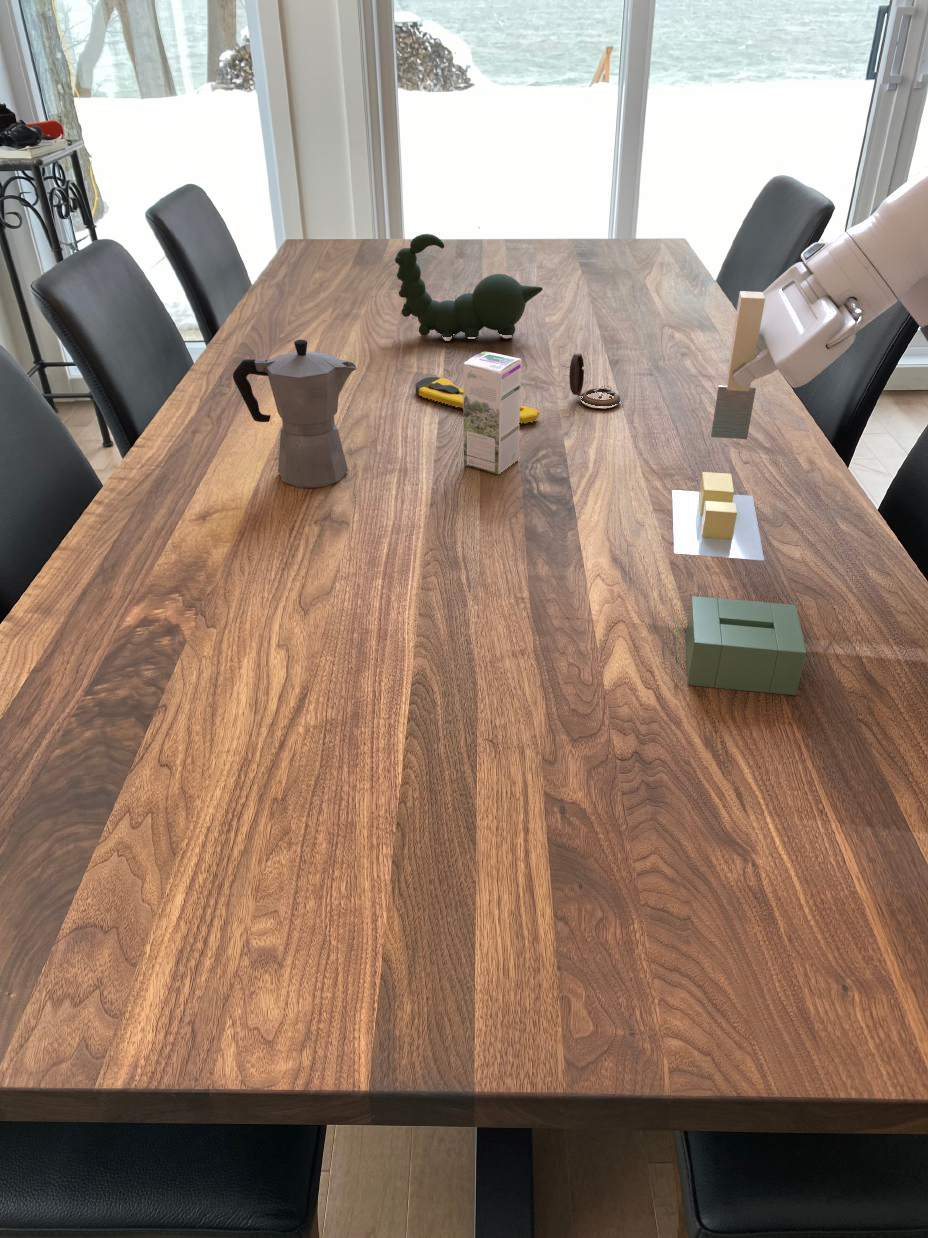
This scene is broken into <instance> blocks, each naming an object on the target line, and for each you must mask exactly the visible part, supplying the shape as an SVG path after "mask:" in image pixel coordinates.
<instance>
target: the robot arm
mask: <svg viewBox="0 0 928 1238" xmlns="http://www.w3.org/2000/svg"><path fill="white" fill-rule="evenodd" d="M800 258H801V260H802V261H798V262H795V263H794V264H793V265H791V266H790V267H789V268H788V269H787V270H786V271H784V272H783V273H782V274H781V275H780V276H778V278H776V279H775V280H774V281H773V282H772V283H771V284H770V285H769V286H768V287H766V289H765V290H763V291H762V292H763V294H764V297H765V303H764V309H763V315H762V321H761V326H760V332H759V338H758V344H757V350H756V355H755V359H754V360H752V361H750V362H749V363H747V364H745V363H743V364H741V365H740V366H739V367H738V368H737V369H735V370H734V371H733V373H732V375H733V378H734V381H735V382H736V383H737V384H738V385H739V386H740V387H741V388H744V387H746V386H747V385H749V384H750V383H751V384H752V383H753V382H754V381H755V380H758V379H761V378H763V377H765V376H768V375H770V374H773V373H774V372H775V371H778V372H779V373H780V374H781V376H782V377H783V378H784V380H785V381H786V382H787V383H788V384H789V385H790V386H791V387H792V388H795V389H796V388H800V387H803V386H805V385H806V384H808V383H809V382H811V381H812V380H813V379H815V378H816V377H817V376H819V375H820V374H821V373H822V372H824V370H826V369H827V368H828V367H829V366H831V365H832V364H833V363H834V362H835V361H836V360H838V359H839V358H840V357H841V356H842V355H843V354H844V353H845V352H846V351H847V350H848V349H849V348H850V347H851V346H852V344H853V343H854V342H855V340H856V333H858V331H861V329H863V328H864V327H866V326H867V325H869V323H871V322H873V320H875V319H876V318H878V317H879V316H880V315H882V314H883V313H885V311H887V310H888V309H890V308H891V307H892V306H893V305H895V304H896V303H897V302H898V301H899V302H900V303H901V305H903V307H904V308H905V310H906V311H907V312H908V313H909V314H910V316H911V318H912V319H914V321H915V322H916V324H917V325H918V326H919V327H920V328H919V330H920V332H921V333H922V335H923V337H924V338H925V340H926V341H927V342H928V166H927V167H925V168H924V169H922V170H921V171H919V172H918V173H917V174H915V175H914V176H913V177H911V178H910V179H908V180H907V181H905V182H904V183H903V184H902V185H900V186H899V187H898V188H896V189H895V190H894V191H893V192H892V193H890V194H889V195H888V196H887V197H886V198H884V199H883V200H882V201H881V202H880V203H878V204H877V206H875V207H874V209H872V210H871V213H870V215H869V217H868V218H866V219H865V220H862V222H860V223H857V224H855V225H853V226H851V227H850V228H849V227H848V229H846V230H845V231H844V232H843V233H842V234H840V235H839V236H838V237H837V238H836V239H832V240H830V241H815V242H813V243H811V244H810V245H809V246H808V247H807V248H805V249H804V250H803V251H802V253H801V254H800ZM727 363H729V359H728V360H727ZM751 384H750V385H751Z"/></svg>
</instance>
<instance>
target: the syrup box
mask: <svg viewBox="0 0 928 1238" xmlns="http://www.w3.org/2000/svg"><path fill="white" fill-rule="evenodd" d="M462 364H463V365H462V372H463V375H462V378H463V379H462V380H463V384H462V387H463V388H462V389H463V409H462V410H463V414H462V415H463V417H462V418H463V465H464V466H466V467H470V468H473V469H477V470H480V469H481V470H480V471H483V470H484V471H483V472H486V473H487V472H488V473H490V474H494V475H500V474H502V473H504V472H505V471H506V470H507V468H508V467H509V466H510V467H512V466H513V465H514V464H516V463H517V462H518V461H519V459H520V424H519V420H520V405H521V392H522V391H521V390H522V358H518V357H514V356H510V355H505V354H500V353H495V352H490V351H481V352H480V353H477V354H475V355H474V356H472V357H470V358H469V359H467V360H466V361H464V362H463V363H462ZM517 460H518V461H517ZM516 461H517V462H516ZM515 462H516V463H515ZM513 463H514V464H513ZM512 464H513V465H512ZM511 465H512V466H511ZM510 467H509V468H510ZM509 468H508V469H509ZM505 469H506V470H505ZM504 470H505V471H504ZM503 471H504V472H503ZM501 472H502V473H501Z"/></svg>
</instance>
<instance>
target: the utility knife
mask: <svg viewBox="0 0 928 1238" xmlns="http://www.w3.org/2000/svg"><path fill="white" fill-rule="evenodd" d="M414 388H415V393H416V394H417V395H418V396H419V397H421V396H422V397H421V398H424V399H426V398H428V399H427V400H430V399H432V400H431V401H433V400H434V402H436V401H438V402H437V403H439V401H440V402H442V403H441V404H443V403H445V404H444V405H446V404H450V405H453V406H458V407H462V408H463V388H461V387H459V386H457V385H455V384H454V383H453V382H452V381H450V380H449V379H448V378H445V377H438V376H432V377H431V376H429V377H424V378H422V379H420V380H418V381H417V382H415V387H414ZM450 405H449V406H450ZM453 406H452V407H453ZM538 415H539V416H540V410H538V409H536V408H533V407H529V406H525V405H521V404H520V420H519V423H521V424H520V425H523V424H522V423H524V424H528V423H527V422H531V421H535V420H536V419H537V417H538ZM538 418H539V417H538ZM537 420H538V419H537ZM537 420H536V421H537ZM536 421H535V422H536ZM531 423H532V422H531Z"/></svg>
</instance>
